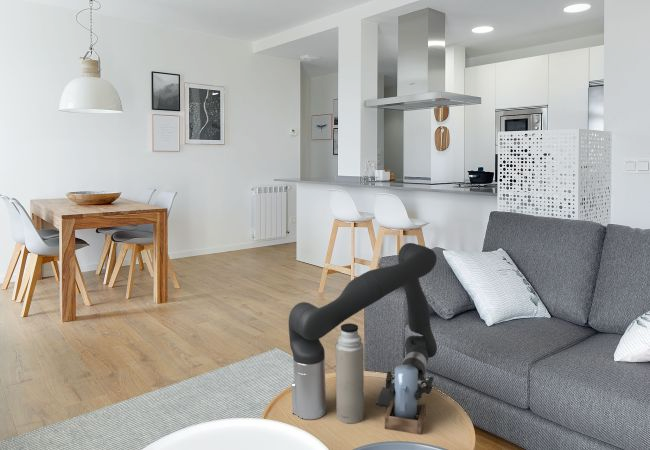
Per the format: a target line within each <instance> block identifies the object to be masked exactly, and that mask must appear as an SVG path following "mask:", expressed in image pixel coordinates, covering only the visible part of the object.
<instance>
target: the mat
mask: <svg viewBox="0 0 650 450" xmlns="http://www.w3.org/2000/svg"><path fill="white" fill-rule="evenodd" d="M389 389H390V388H389ZM389 389H387V388H386V386H385V387H382V388H381V390H380V393H379V396H378V398H377V400H376V403H375V404H376V406H382V407H387V408H388V407H389V405H390V402H391V399H394V400H395V394H394V397H392V396H391V395H390V394H389Z"/></svg>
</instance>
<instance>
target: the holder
mask: <svg viewBox="0 0 650 450" xmlns="http://www.w3.org/2000/svg"><path fill="white" fill-rule="evenodd" d="M426 405H427V404H426V403H422V402H421V403H420V402H417V420H412V419H406V418H399V417H394V408H395V400H394V399H391V402H390V405H389V407H387V410H386V413H385V416H384V429H386V430H390V431H397V432H403V433H410V434H415V435H421V434H422V430H423V427H424V423H425V420H426V419H425V418H426V409H427V408H426Z"/></svg>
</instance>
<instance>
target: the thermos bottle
mask: <svg viewBox="0 0 650 450" xmlns="http://www.w3.org/2000/svg"><path fill="white" fill-rule="evenodd" d="M358 331H359V325H357V324H356V323H350V322H349V323H344V324H342V325H340V334H339V335H338V336H337V342H336V343H335V392H336V393H335V394H336V395H335V396H336V399H335V400H336V401H335V402H336V403H335V404H336V405H335V406H336V418H337V419H338V421H340V422H341V423H345V424H356V423H359V422H361V421H363V419H364V417H365V404H364V403H365V401H364V400H365V399H364V397H365V393H364V385H365V384H364V383H365V381H364V377H365V376H364V373H365V372H364V366H365V365H364V343H363V342H362V338H361V335H360V334H359V332H358Z"/></svg>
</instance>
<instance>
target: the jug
mask: <svg viewBox="0 0 650 450" xmlns="http://www.w3.org/2000/svg"><path fill="white" fill-rule="evenodd" d="M394 375H395V379H394V380H395V408H394V414H393V417H399V418H406V419H412V420H418V416H417V403H418V400H416V392H417V389H418V370H417V368H416V367H414V366H411V365H402V364H401V365H400V364H399V365H397V366H395V368H394Z"/></svg>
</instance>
